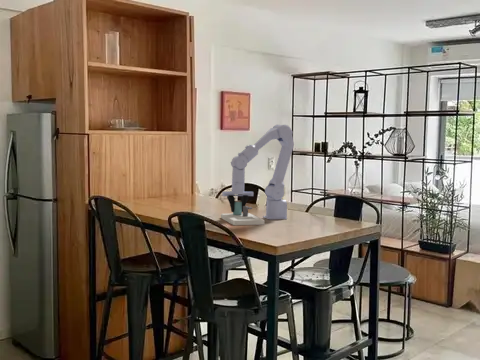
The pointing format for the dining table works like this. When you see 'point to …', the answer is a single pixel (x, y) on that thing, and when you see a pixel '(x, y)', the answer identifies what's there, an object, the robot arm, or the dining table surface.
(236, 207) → the cylinder
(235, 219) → the white box with opening
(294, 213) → the dining table surface
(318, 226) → the dining table surface
